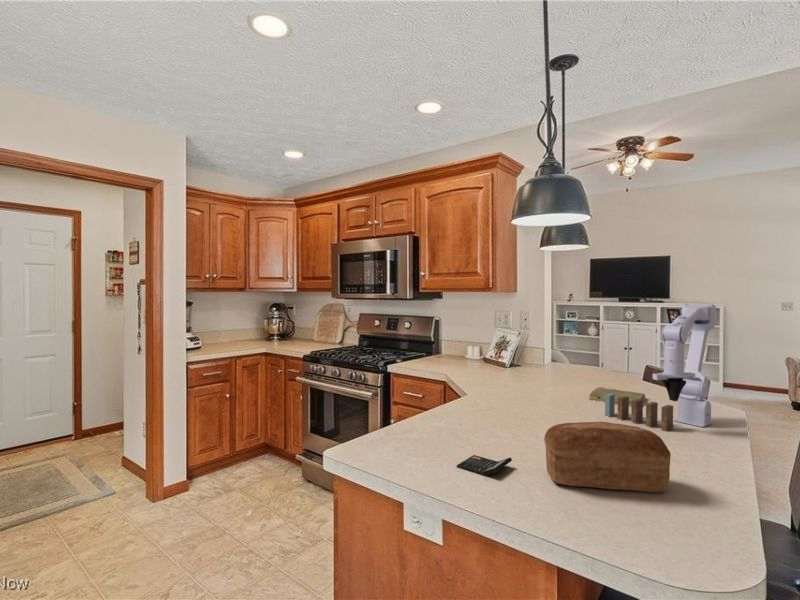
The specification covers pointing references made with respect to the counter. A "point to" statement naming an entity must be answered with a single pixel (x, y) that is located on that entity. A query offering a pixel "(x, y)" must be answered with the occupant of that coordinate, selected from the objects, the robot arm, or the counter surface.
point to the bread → (607, 456)
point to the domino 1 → (609, 404)
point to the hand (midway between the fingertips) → (673, 400)
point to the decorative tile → (601, 392)
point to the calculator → (482, 465)
